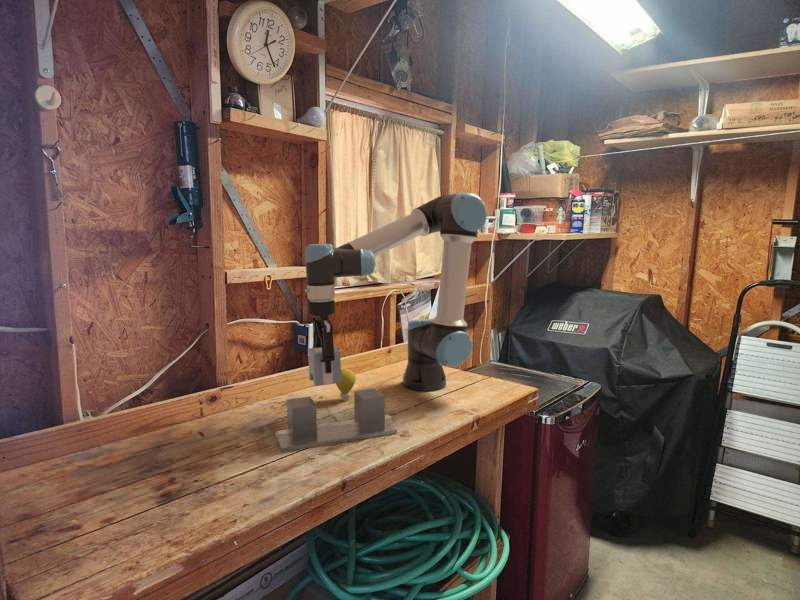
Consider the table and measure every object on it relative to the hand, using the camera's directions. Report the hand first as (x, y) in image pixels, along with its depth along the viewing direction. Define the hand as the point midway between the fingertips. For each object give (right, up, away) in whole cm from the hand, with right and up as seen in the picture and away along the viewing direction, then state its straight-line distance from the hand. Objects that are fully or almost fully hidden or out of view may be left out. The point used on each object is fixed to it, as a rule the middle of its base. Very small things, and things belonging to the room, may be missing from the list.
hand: (324, 379), depth 141 cm
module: (0, 0, 0) cm, 0 cm away
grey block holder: (+5, -13, -12) cm, 18 cm away
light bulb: (+4, -9, +16) cm, 19 cm away
